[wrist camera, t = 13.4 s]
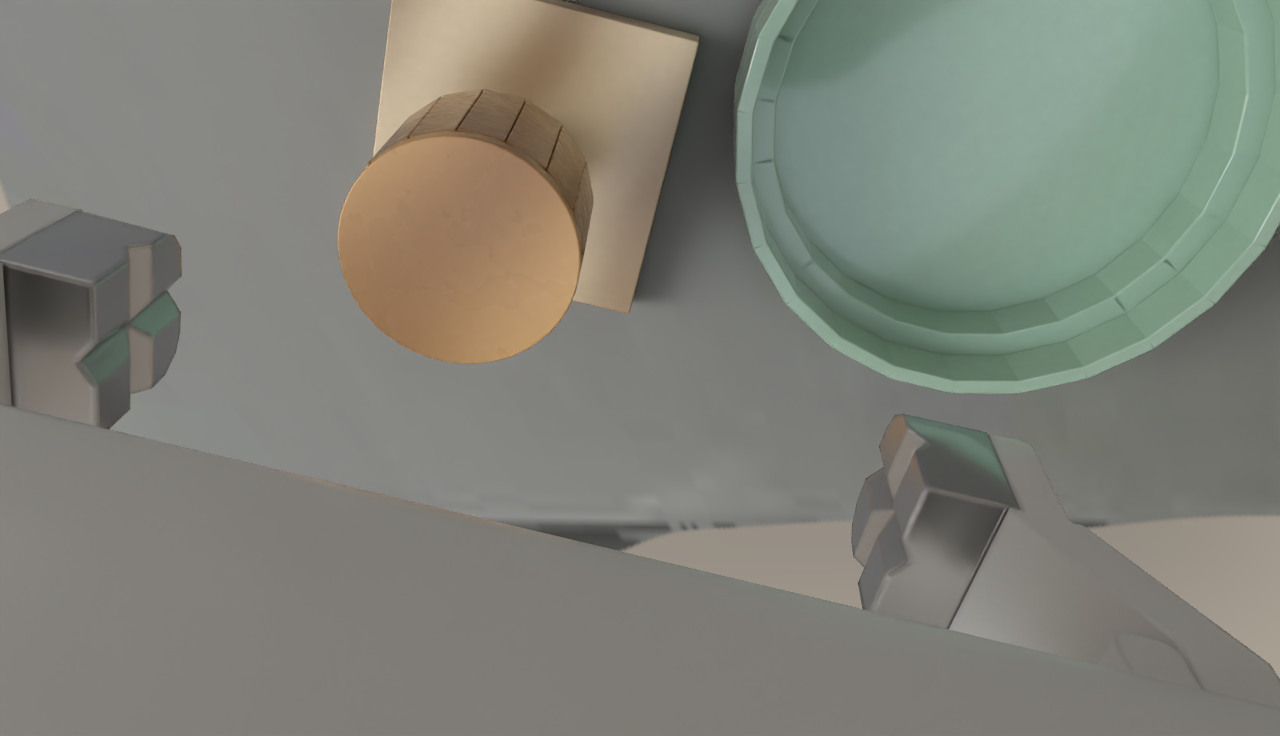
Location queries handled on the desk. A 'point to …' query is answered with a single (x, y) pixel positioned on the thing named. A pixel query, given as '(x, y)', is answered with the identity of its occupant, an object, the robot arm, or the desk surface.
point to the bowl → (1007, 176)
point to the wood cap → (468, 228)
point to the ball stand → (558, 102)
